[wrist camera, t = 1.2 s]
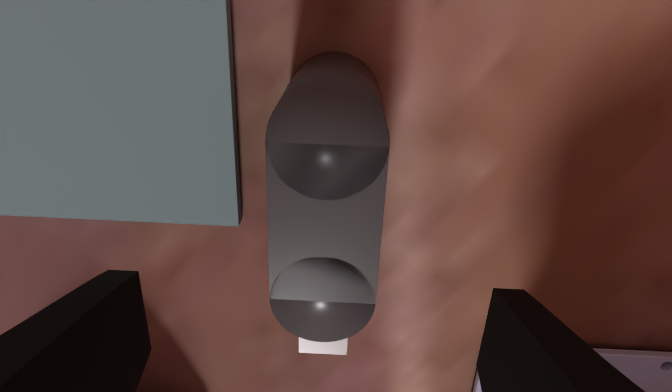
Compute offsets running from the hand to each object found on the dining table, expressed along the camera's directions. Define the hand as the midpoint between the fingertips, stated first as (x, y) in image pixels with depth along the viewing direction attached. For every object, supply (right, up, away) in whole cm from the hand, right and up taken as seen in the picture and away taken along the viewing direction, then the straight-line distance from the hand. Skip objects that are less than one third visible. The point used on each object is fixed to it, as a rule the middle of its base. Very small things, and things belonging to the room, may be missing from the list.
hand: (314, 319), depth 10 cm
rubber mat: (-9, +8, +6) cm, 13 cm away
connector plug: (0, +3, +8) cm, 9 cm away
